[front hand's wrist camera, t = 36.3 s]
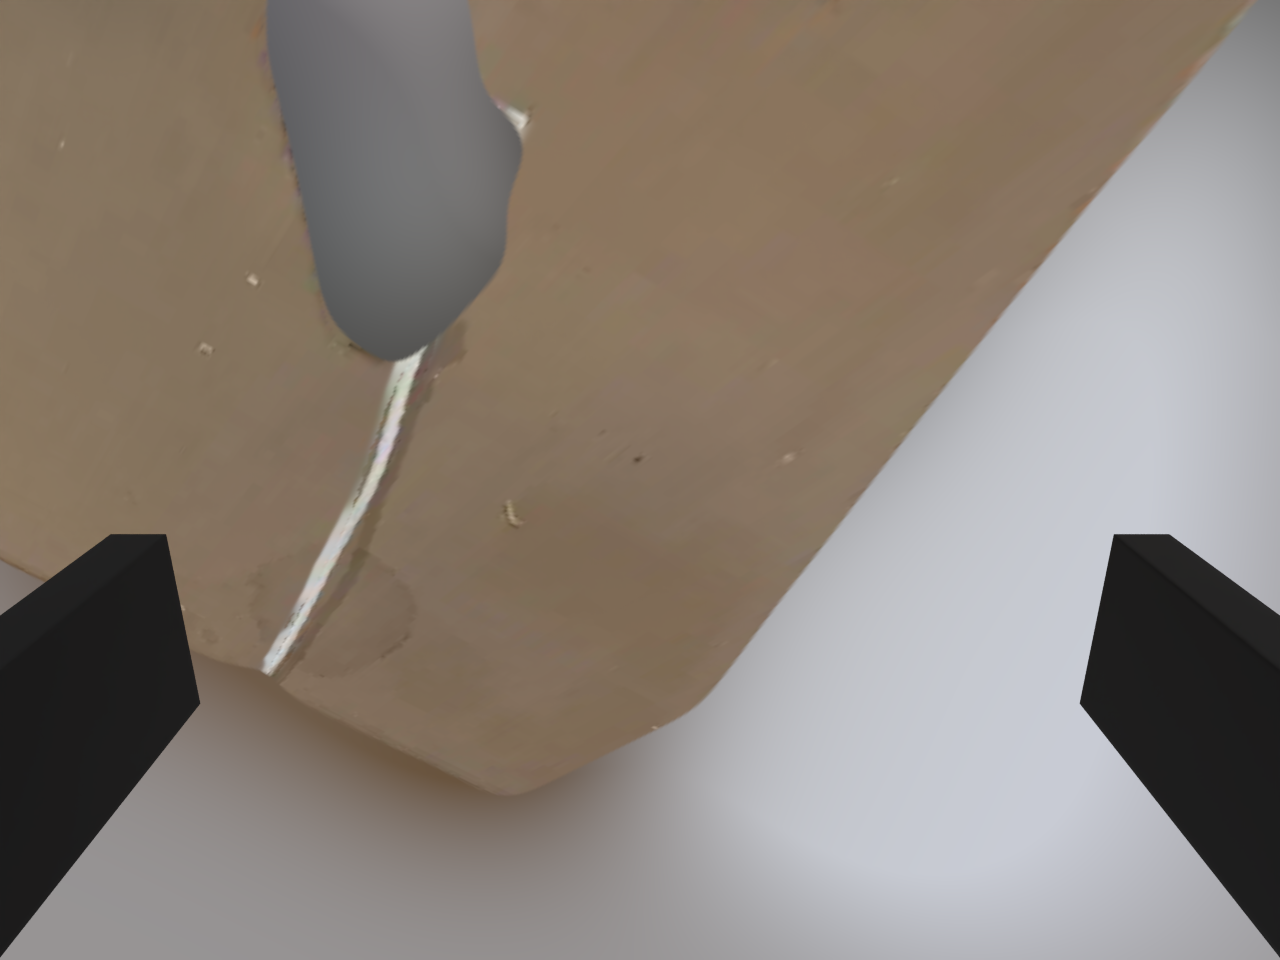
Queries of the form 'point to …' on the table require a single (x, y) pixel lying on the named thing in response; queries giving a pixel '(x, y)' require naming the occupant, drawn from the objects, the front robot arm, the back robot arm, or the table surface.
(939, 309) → the table surface
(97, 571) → the front robot arm
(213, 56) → the table surface
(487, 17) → the table surface
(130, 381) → the table surface
